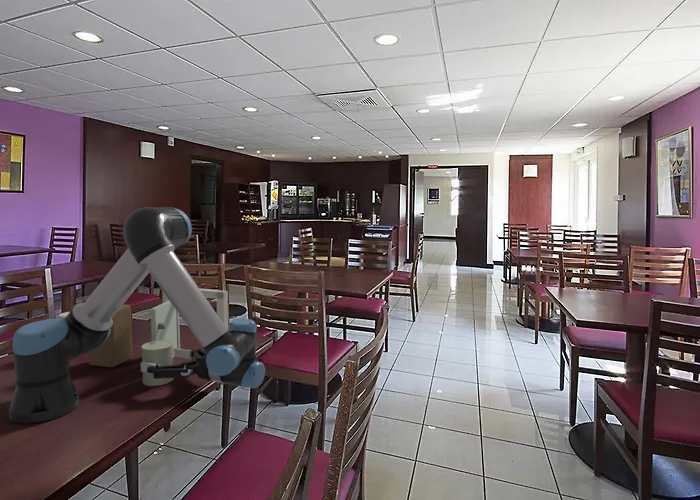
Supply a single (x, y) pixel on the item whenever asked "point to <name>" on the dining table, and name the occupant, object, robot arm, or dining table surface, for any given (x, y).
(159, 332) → the door
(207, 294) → the door frame
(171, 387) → the dining table surface
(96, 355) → the wooden block
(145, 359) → the can
